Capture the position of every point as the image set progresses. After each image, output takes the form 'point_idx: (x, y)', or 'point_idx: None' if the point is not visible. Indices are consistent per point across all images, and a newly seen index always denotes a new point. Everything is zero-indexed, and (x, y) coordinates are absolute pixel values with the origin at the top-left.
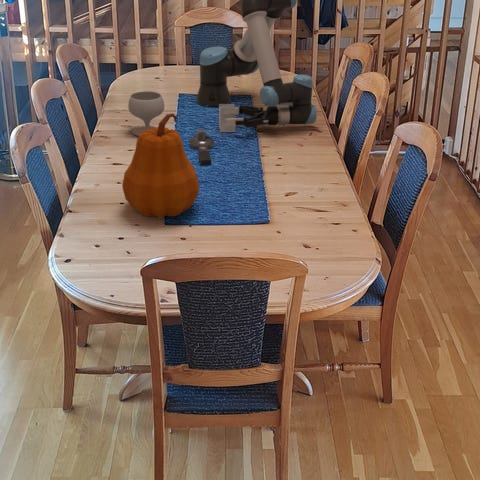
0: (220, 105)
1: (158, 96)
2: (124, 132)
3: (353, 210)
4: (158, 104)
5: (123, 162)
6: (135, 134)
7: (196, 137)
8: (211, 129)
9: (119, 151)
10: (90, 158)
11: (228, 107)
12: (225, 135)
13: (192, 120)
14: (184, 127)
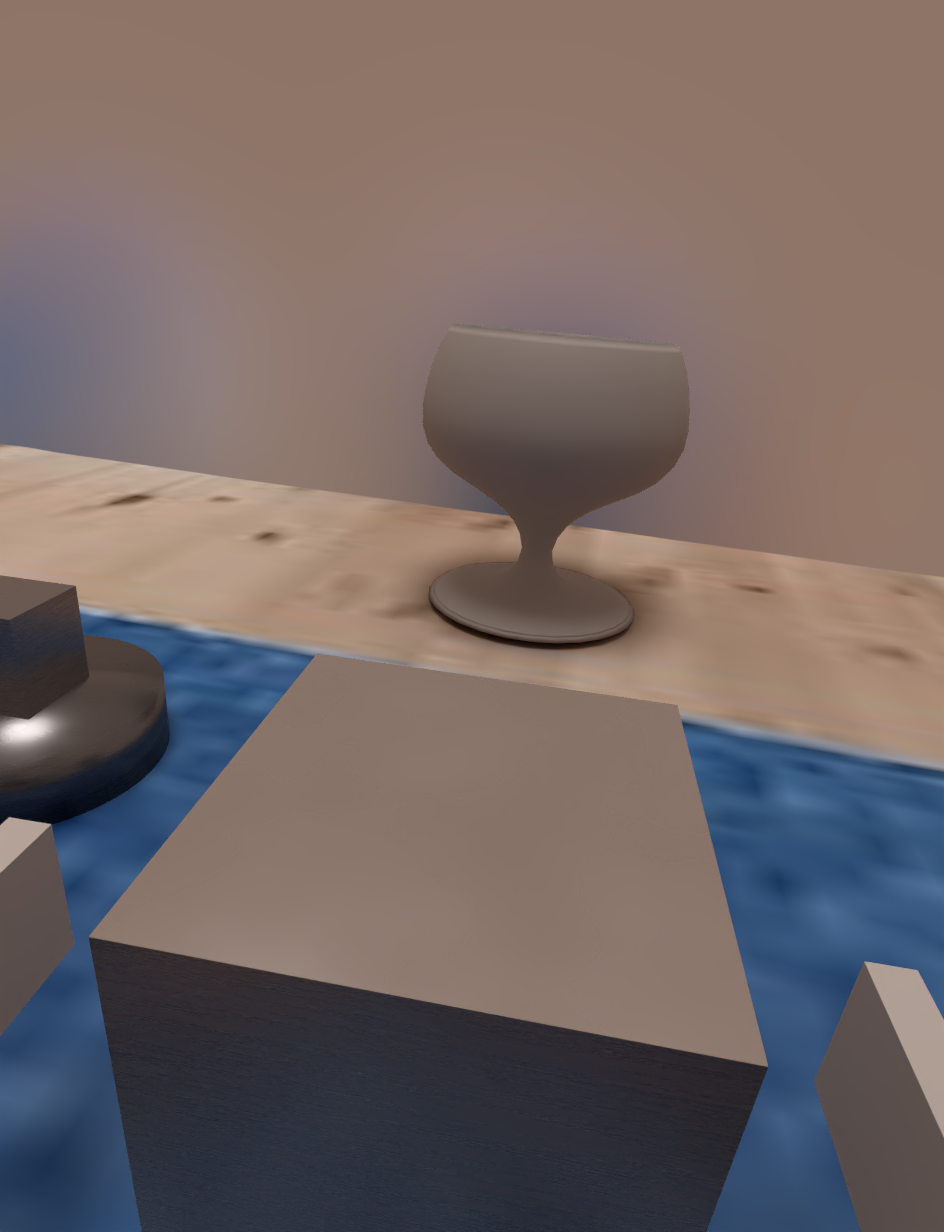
0: (558, 700)
1: (644, 382)
2: None
3: None
4: (453, 374)
5: (133, 508)
6: (483, 563)
7: (122, 677)
8: None
9: (281, 520)
10: (260, 483)
11: (329, 780)
12: None
13: (896, 863)
14: None
